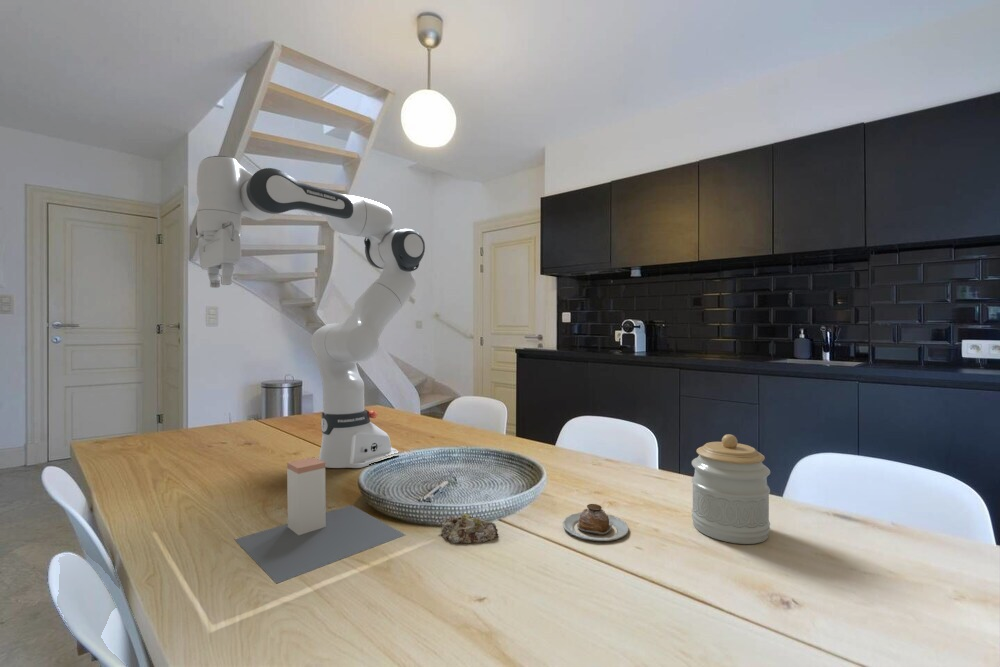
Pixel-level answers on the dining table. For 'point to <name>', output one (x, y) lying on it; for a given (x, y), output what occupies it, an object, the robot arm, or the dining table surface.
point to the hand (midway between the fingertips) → (220, 286)
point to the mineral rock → (468, 529)
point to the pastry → (595, 524)
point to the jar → (731, 492)
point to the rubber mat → (316, 543)
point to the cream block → (306, 495)
